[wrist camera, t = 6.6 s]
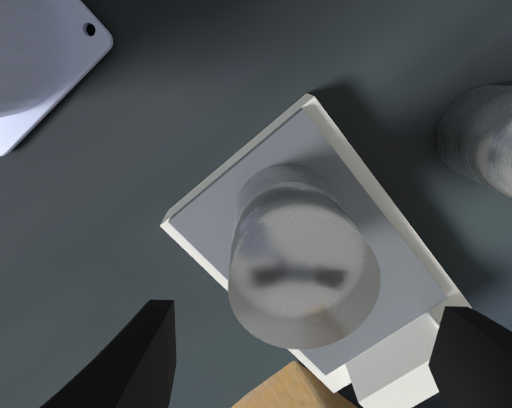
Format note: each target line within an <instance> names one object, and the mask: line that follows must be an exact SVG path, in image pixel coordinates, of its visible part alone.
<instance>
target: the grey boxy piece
mask: <svg viewBox="0 0 512 408" xmlns="http://www.w3.org/2000/svg"><path fill="white" fill-rule="evenodd" d="M281 164H291V165H297V166H301V167H304V168H306V169H309V170H311V171H312V172H314V173H315V174H317V175H318V176H319V177H320V178H321V179H322V180H323V181H324V182H325V184H326V185H327V187H328V188H329V189H330V191H331V192H332V194H333V195H334V196H335V198H336V199H337V201H338V202H339V203H340V205H341V206H342V208H343V209H344V210H345V212H346V213H347V215H348V216H349V217H350V219H351V220H352V222H353V223H354V225H355V226H356V227H357V229H358V230H359V232H360V233H361V234H362V236H363V237H364V239H365V240H366V241H367V243H368V244H369V246H370V247H371V249H372V250H373V252H374V254H375V256H376V258H377V261H378V264H379V268H380V275H381V284H380V291H379V296H378V299H377V301H376V304H375V306H374V308H373V310H372V312H371V313H370V314H369V316H368V317H367V319H366V320H365V321H364V322H363V323H362V324H361V325H360V326H359V327H358V328H357V329H356V330H355V331H353V332H352V333H351V334H349V335H348V336H346V337H344V338H343V339H341V340H339V341H337V342H334V343H332V344H329V345H326V346H323V347H319V348H313V349H302V350H299V349H288V350H289V351H290V352H291V353H292V354H294V355H295V356H296V357H297V358H298V359H299V360H300V361H301V362H302V363H303V364H304V365H305V366H306V367H307V368H308V369H309V370H310V371H311V372H312V373H313V374H314V375H315V376H316V377H317V378H318V379H319V380H321V381H322V382H323V383H324V384H325V385H326V386H327V387H328V388H329V389H330V390H331V391H332V392H333V393H335V392H337V391H338V390H340V389H342V388H343V387H345V386H347V385H348V384H350V383H352V385H353V388H354V391H355V394H356V397H357V400H358V403H359V404H360V405H361V406H362V407H363V408H412V407H414V406H415V405H417V404H419V403H421V402H422V401H424V400H426V399H428V398H429V397H431V396H433V395H435V394H436V393H438V392H439V390H438V388H437V386H436V383H435V381H434V378H433V376H432V374H431V371H430V369H429V366H428V364H429V361H430V357H431V354H432V350H433V347H434V343H435V340H436V336H437V333H438V329H439V326H440V322H441V319H442V315H443V312H444V308H445V306H462V307H469V308H471V309H472V307H471V306H470V304H469V303H468V302H467V300H466V299H465V298H464V296H463V295H462V294H461V292H460V291H459V290H458V288H457V287H456V285H455V284H454V283H453V281H452V280H451V279H450V277H449V276H448V275H447V273H446V272H445V271H444V269H443V268H442V267H441V265H440V264H439V263H438V261H437V260H436V259H435V257H434V256H433V255H432V253H431V252H430V251H429V249H428V248H427V247H426V245H425V244H424V243H423V241H422V240H421V239H420V237H419V236H418V235H417V233H416V232H415V231H414V229H413V228H412V227H411V225H410V224H409V222H408V221H407V220H406V218H405V217H404V216H403V214H402V213H401V212H400V210H399V209H398V208H397V206H396V205H395V204H394V202H393V201H392V200H391V198H390V197H389V196H388V194H387V193H386V192H385V190H384V189H383V188H382V186H381V185H380V184H379V182H378V181H377V180H376V178H375V177H374V176H373V174H372V173H371V172H370V170H369V169H368V168H367V166H366V165H365V164H364V162H363V161H362V160H361V158H360V157H359V155H358V154H357V153H356V151H355V150H354V149H353V147H352V146H351V145H350V143H349V142H348V141H347V139H346V138H345V137H344V135H343V134H342V133H341V131H340V130H339V129H338V127H337V126H336V125H335V123H334V122H333V121H332V119H331V118H330V117H329V115H328V114H327V113H326V111H325V110H324V109H323V107H322V106H321V105H320V103H319V102H318V101H317V99H316V98H315V97H314V96H312V95H310V94H307V93H306V94H305V95H304V96H303V97H302V98H300V99H299V100H298V101H297V102H296V103H294V104H293V105H292V106H291V107H290V108H289V109H287V110H286V111H285V112H284V113H283V114H281V115H280V116H279V117H278V118H277V119H276V120H274V121H273V122H272V123H271V124H270V125H268V126H267V127H266V128H265V129H264V130H263V131H261V132H260V133H259V134H258V135H257V136H255V137H254V138H253V139H252V140H251V141H250V142H248V143H247V144H246V145H245V146H244V147H242V148H241V149H240V150H239V151H238V152H236V153H235V154H234V155H233V156H232V157H231V158H229V159H228V160H227V161H226V162H225V163H223V164H222V165H221V166H220V167H219V168H218V169H216V170H215V171H214V172H213V173H212V174H210V175H209V176H208V177H207V178H206V179H205V180H203V181H202V182H201V183H200V184H199V185H197V186H196V187H195V188H194V189H193V190H192V191H190V192H189V193H188V194H187V195H186V196H184V197H183V198H182V199H181V200H180V201H179V202H177V203H176V204H175V205H174V206H173V207H171V208H170V209H169V210H168V212H167V214H166V215H165V217H164V219H163V221H162V223H161V225H160V226H161V227H162V228H163V229H164V230H165V231H166V232H167V233H168V234H169V235H170V236H171V237H172V238H173V239H174V240H175V241H176V242H177V243H178V244H179V245H180V246H181V247H182V248H183V249H184V250H185V251H187V252H188V253H189V254H190V255H191V256H192V257H193V258H194V259H195V260H196V261H197V262H198V263H199V264H200V265H201V266H202V267H203V268H204V269H205V270H206V271H207V272H208V273H209V274H210V275H211V276H212V277H214V278H215V279H216V280H217V281H218V282H219V283H220V284H221V285H222V286H223V287H224V288H225V289H226V290H227V291H228V278H229V267H230V256H231V246H232V235H233V224H234V213H235V205H236V200H237V197H238V194H239V192H240V190H241V189H242V187H243V186H244V184H245V183H246V182H247V181H248V180H249V179H250V178H251V177H252V176H253V175H254V174H256V173H258V172H259V171H261V170H263V169H265V168H268V167H271V166H275V165H281Z"/></svg>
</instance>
